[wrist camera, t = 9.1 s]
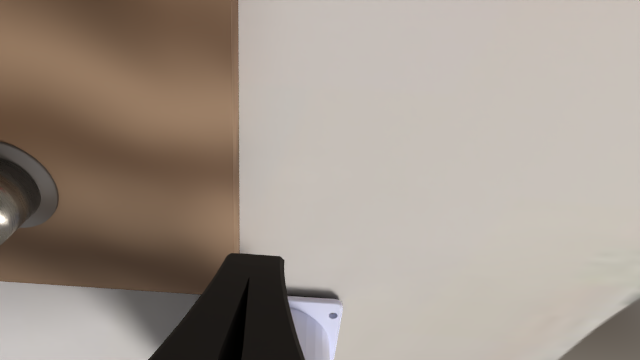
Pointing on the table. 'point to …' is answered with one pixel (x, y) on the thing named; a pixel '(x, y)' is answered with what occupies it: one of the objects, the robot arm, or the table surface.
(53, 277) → the plate
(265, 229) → the table surface
